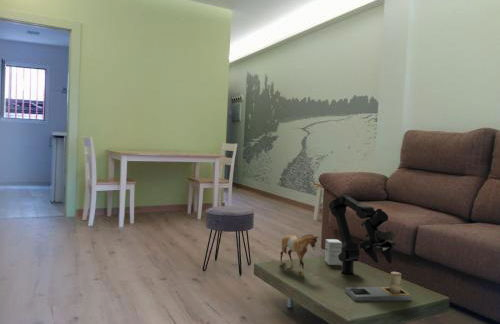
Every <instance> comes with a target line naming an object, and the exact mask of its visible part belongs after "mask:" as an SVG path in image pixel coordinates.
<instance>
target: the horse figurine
mask: <svg viewBox="0 0 500 324" xmlns="http://www.w3.org/2000/svg"><path fill="white" fill-rule="evenodd" d="M318 238H319V236H314V235H313V234H306V235H305V234H304V235H303V236H301V237H299V238H297V235H294V234H287V235H285V236H283V238H282V240H281V251H280V259H279V261H280V262H279V264H280V266H283V265H284V262H283V255H284V254H287V255H288V256H289V260H290V266H291V267H294V260H293V258H292V254H291V253H292V252H294V253H296V255H297V257H298V259H299V265H298V268H299V272H300V273H301V276H302V277H305V268H304V267H305V265H304V264H305V263H304V262H303V258H304V257H305V255H306V253H307V252H308V245H310V246H311V248H312V250H313V251H317V249H318V248H317V242H318V240H317V239H318ZM287 248H288V249H289V250H287Z"/></svg>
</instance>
